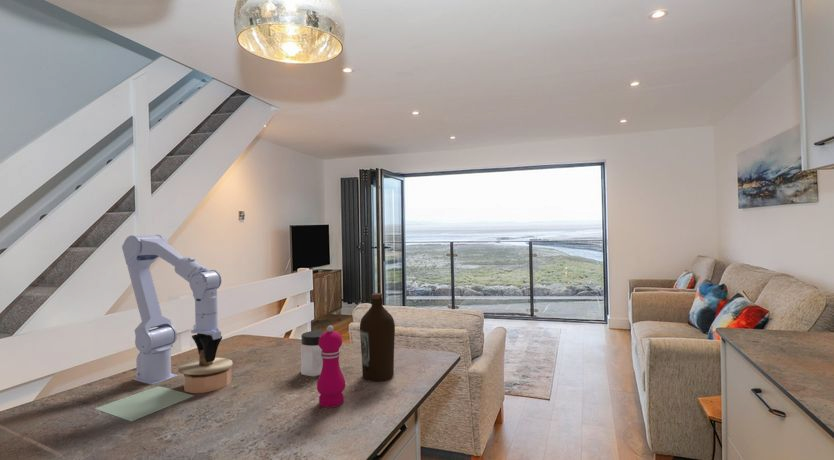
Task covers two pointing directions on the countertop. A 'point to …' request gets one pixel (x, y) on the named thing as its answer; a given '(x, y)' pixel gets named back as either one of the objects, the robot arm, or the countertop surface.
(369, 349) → the olive oil
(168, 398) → the mat
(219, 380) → the bowl
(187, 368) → the lid
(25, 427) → the countertop surface
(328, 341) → the pepper mill
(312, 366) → the jar
